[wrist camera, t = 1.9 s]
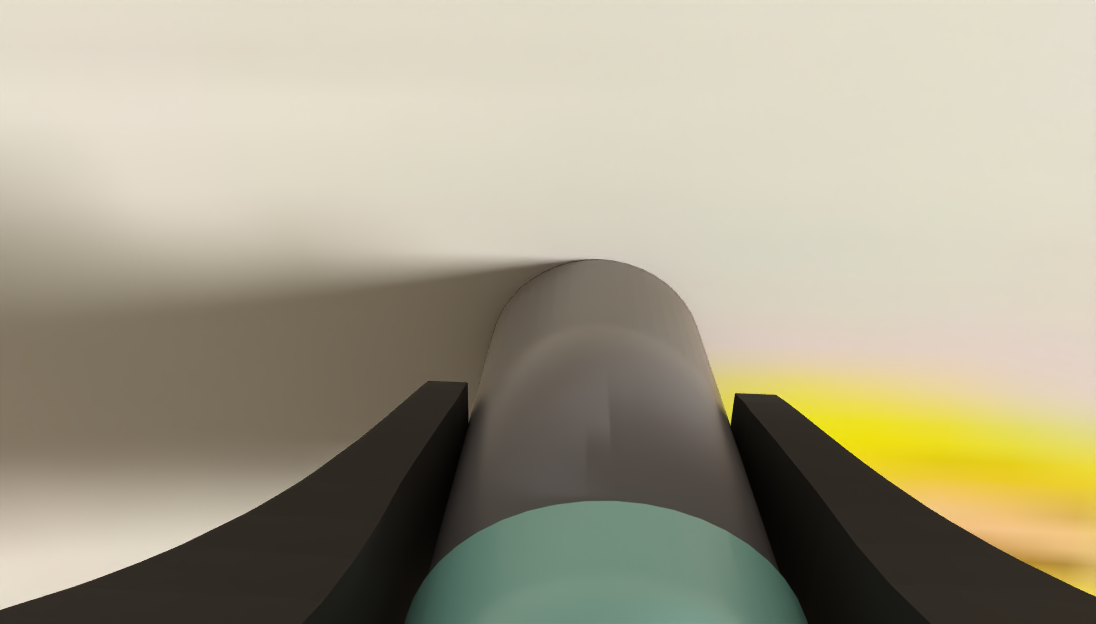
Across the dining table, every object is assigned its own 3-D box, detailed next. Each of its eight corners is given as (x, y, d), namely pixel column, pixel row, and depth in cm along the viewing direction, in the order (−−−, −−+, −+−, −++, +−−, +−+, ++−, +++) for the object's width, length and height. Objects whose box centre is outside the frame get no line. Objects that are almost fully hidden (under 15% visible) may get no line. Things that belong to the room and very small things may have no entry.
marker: (718, 258, 13) (1028, 870, 4) (695, 456, 15) (874, 1210, 6) (483, 250, 13) (259, 823, 4) (486, 447, 15) (329, 1168, 6)
